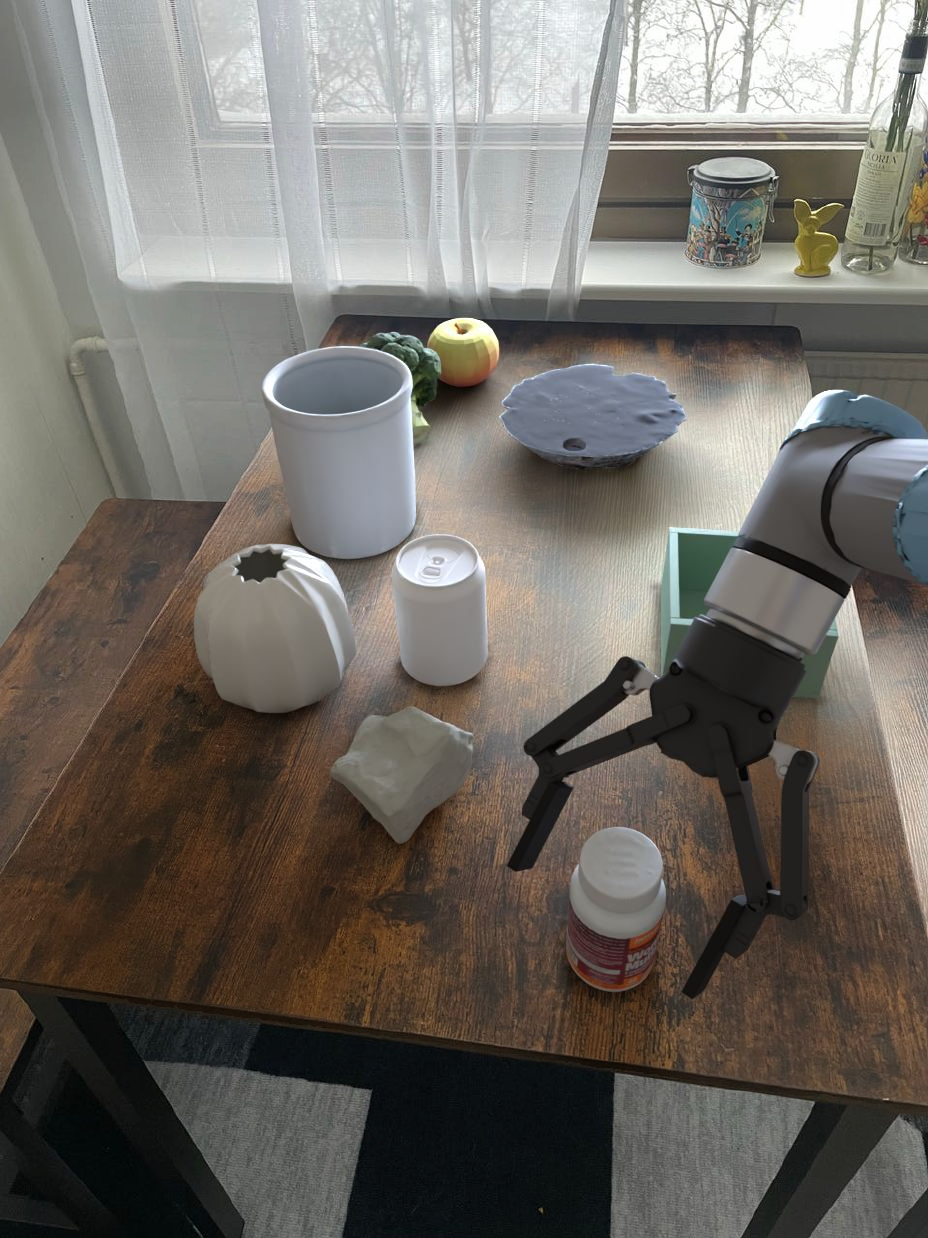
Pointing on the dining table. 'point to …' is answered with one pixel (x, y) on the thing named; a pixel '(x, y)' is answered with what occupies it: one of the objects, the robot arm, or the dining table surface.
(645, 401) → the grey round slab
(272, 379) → the utensil holder
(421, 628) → the beverage can
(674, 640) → the bin
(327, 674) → the vase
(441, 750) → the decorative stone
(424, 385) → the vegetable
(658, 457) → the dining table surface
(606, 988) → the pill bottle
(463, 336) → the apple
